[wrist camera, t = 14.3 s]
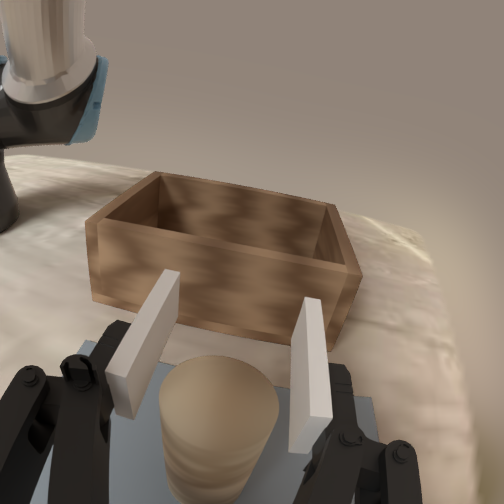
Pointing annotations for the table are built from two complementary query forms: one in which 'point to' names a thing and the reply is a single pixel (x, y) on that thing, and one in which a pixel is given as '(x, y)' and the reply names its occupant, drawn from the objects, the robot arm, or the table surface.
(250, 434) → the lid
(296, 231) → the brown wooden open box
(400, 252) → the table surface
